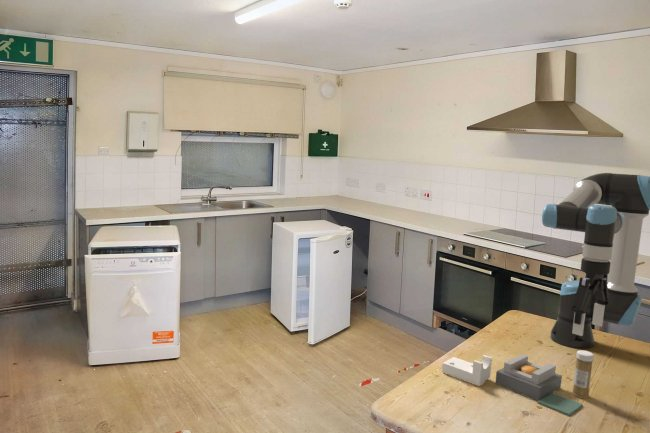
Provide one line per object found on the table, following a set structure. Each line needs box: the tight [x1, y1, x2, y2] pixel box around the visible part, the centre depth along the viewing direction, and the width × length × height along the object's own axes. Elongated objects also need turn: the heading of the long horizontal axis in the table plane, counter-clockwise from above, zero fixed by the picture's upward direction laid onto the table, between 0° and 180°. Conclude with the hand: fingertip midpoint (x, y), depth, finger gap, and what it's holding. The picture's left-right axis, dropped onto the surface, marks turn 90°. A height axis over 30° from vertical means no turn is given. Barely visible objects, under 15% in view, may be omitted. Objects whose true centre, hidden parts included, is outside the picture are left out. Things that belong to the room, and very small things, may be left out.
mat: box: [537, 392, 584, 417], centre depth 156 cm, size 9×9×1 cm
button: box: [521, 365, 538, 375], centre depth 167 cm, size 5×5×3 cm
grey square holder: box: [495, 353, 563, 402], centre depth 167 cm, size 14×14×7 cm
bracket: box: [441, 354, 493, 387], centre depth 172 cm, size 13×7×8 cm, turn 48°
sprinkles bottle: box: [571, 349, 595, 399], centre depth 162 cm, size 5×5×13 cm
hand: (587, 329), depth 160 cm, fingers open, 13 cm apart
